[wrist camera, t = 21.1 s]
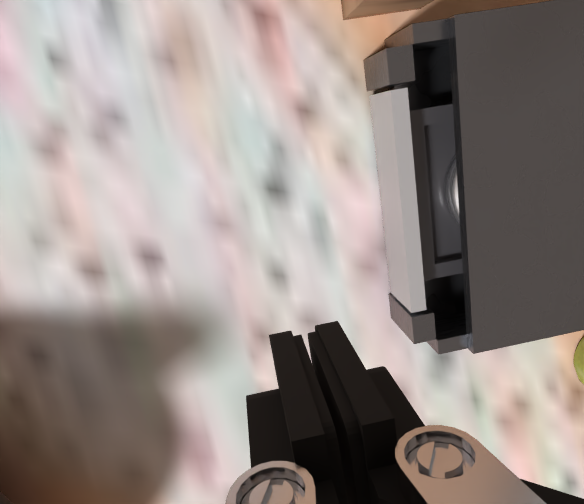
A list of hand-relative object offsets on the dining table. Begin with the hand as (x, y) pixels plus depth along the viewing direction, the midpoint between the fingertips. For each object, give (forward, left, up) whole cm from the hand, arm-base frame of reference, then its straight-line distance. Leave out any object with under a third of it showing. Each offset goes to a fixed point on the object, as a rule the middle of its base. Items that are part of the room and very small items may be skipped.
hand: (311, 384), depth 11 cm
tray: (0, +15, -21) cm, 26 cm away
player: (0, +17, -21) cm, 27 cm away
